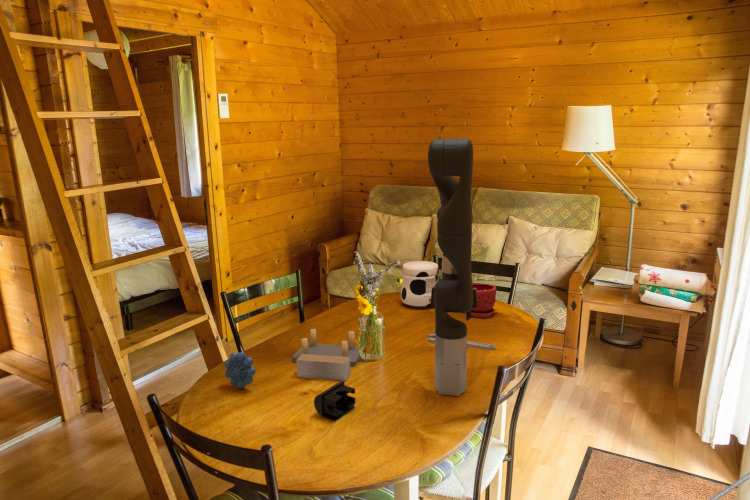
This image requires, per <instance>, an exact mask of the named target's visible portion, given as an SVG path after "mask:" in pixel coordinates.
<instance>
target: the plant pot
mask: <svg viewBox="0 0 750 500" xmlns="http://www.w3.org/2000/svg"><path fill="white" fill-rule="evenodd" d="M472 287H473V288H474V287H476V289H477V308H472V309H471V317H475V318H488V317H489V318H490V317H491V316H492V315H494V314H495V312H496V311H495V309H494V306H495V303H496V296H497V286H495V285H494V284H490V283H485V282H484V283H480V282H478V283H472Z"/></svg>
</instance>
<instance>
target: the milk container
mask: <svg viewBox="0 0 750 500" xmlns="http://www.w3.org/2000/svg"><path fill="white" fill-rule="evenodd" d="M438 265H439V264H437V263H436V262H433V261H429V260H413V261H407V262H405V263H403V265H402V286H401V290H400V299H401V301H402V304H403V305H406V306H408V307H411V308H419V309H421V308H424V309H425V308H431V307H432V306H431V291H432V287H433V286H435V285H436V283H437V281H439V266H438Z"/></svg>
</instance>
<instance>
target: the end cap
mask: <svg viewBox="0 0 750 500" xmlns="http://www.w3.org/2000/svg"><path fill="white" fill-rule="evenodd" d="M345 382H346V381H338V382H337V383H336V384H333V385H332V386H330V387H329V388H327V389H325V390H324V391H322V392H320V393H318V394H317V395H316V396H315V397H314V399H313V405H314V409H315V411H316V412H317V413H318V415H320V416H322V417H323V418H324V419H328V420H329V421H333V422H337V421H339V419H341V418H343V417H344V416H345V415H347V414H349V413H350V412H352V411H353V410H354V409H355V408H356V407H355V404H356V397H354V396H351V395H348V394H352V395H353V394H354V395H355V394H356V388H355V387H351V386H348V385H346V384H345Z"/></svg>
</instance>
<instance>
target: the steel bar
mask: <svg viewBox="0 0 750 500" xmlns="http://www.w3.org/2000/svg"><path fill="white" fill-rule="evenodd" d="M296 372H297V375H296V376H297V378H304V379H317V380H328V381H329V380H330V381H338V382H341V381H343V382H347V381H348V380H349V377H350V375H351V366H350V357H340V356H326V355H312V354H301V356H300V357H299V358H298V359H297V362H296Z"/></svg>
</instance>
